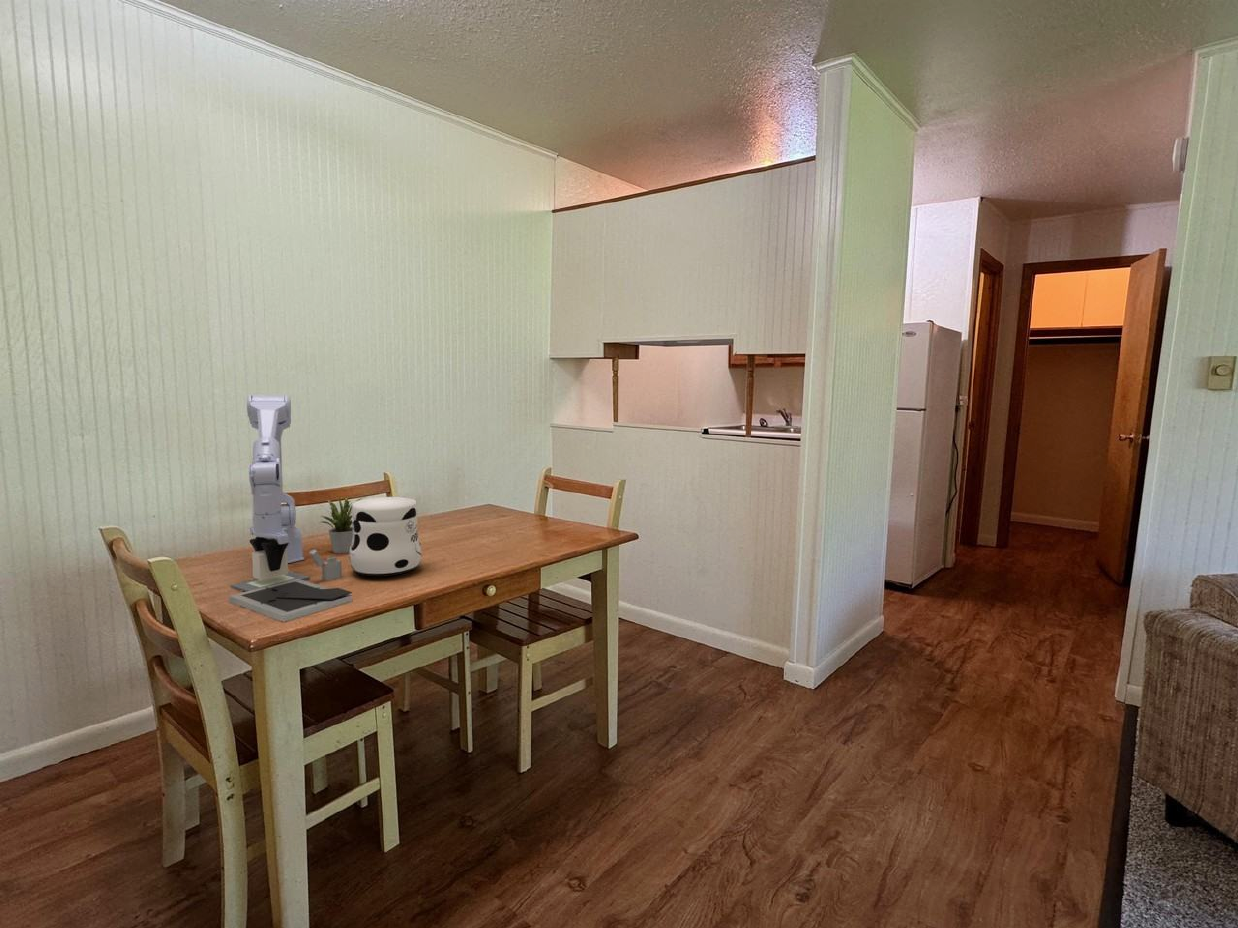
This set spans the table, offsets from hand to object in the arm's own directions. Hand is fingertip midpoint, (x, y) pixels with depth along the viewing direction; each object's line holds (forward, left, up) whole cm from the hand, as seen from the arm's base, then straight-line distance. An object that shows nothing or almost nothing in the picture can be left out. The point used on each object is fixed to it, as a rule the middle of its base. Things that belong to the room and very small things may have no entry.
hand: (270, 568), depth 156 cm
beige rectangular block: (0, 0, -2) cm, 2 cm away
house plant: (-29, -11, -4) cm, 31 cm away
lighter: (-9, +8, -4) cm, 13 cm away
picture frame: (+5, +16, -4) cm, 17 cm away
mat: (0, 0, -4) cm, 4 cm away
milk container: (-22, +14, -4) cm, 26 cm away
